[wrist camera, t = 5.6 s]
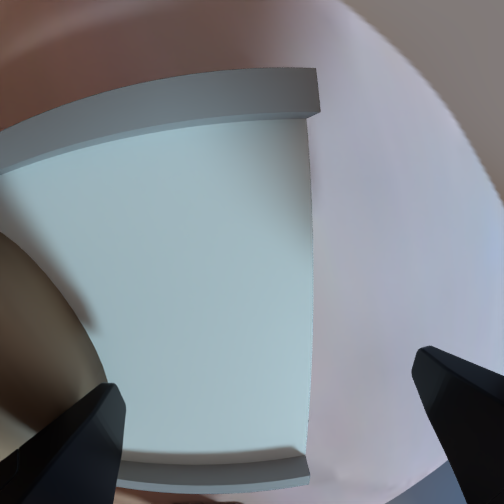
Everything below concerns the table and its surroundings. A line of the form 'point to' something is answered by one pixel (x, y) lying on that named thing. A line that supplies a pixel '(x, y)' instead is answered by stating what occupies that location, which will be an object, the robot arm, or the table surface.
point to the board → (183, 264)
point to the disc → (38, 350)
